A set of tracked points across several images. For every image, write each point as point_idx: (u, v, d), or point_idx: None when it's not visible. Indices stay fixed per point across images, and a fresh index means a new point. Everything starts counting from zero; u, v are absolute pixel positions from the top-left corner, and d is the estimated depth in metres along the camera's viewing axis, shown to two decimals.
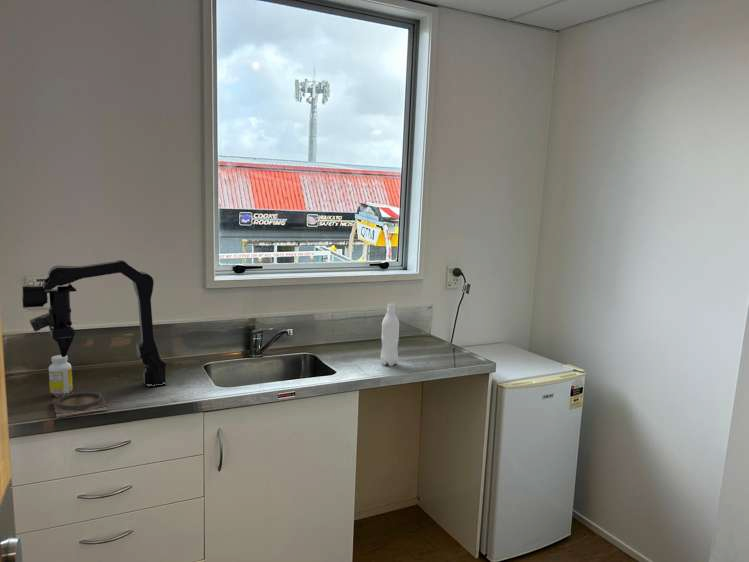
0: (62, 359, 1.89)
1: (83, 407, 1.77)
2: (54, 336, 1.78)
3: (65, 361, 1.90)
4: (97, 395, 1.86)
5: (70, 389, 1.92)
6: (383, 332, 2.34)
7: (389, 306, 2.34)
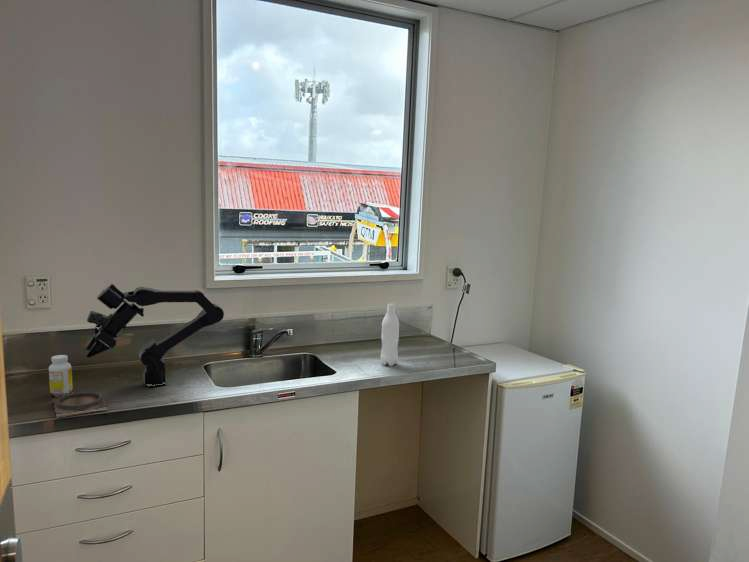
0: (62, 359, 1.89)
1: (83, 407, 1.77)
2: (99, 336, 1.86)
3: (65, 361, 1.90)
4: (97, 395, 1.86)
5: (70, 389, 1.92)
6: (383, 332, 2.34)
7: (389, 306, 2.34)
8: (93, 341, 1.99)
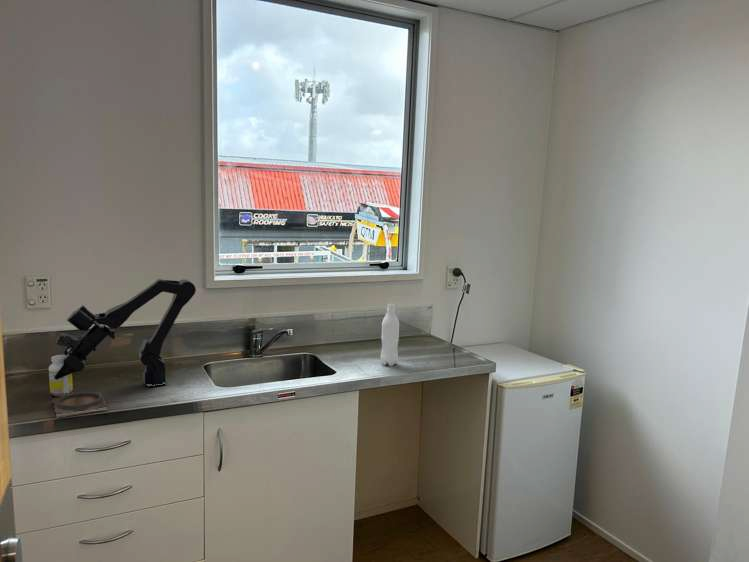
0: (62, 359, 1.89)
1: (83, 407, 1.77)
2: (67, 360, 1.83)
3: None
4: (97, 395, 1.86)
5: (70, 389, 1.92)
6: (383, 332, 2.34)
7: (389, 306, 2.34)
8: None
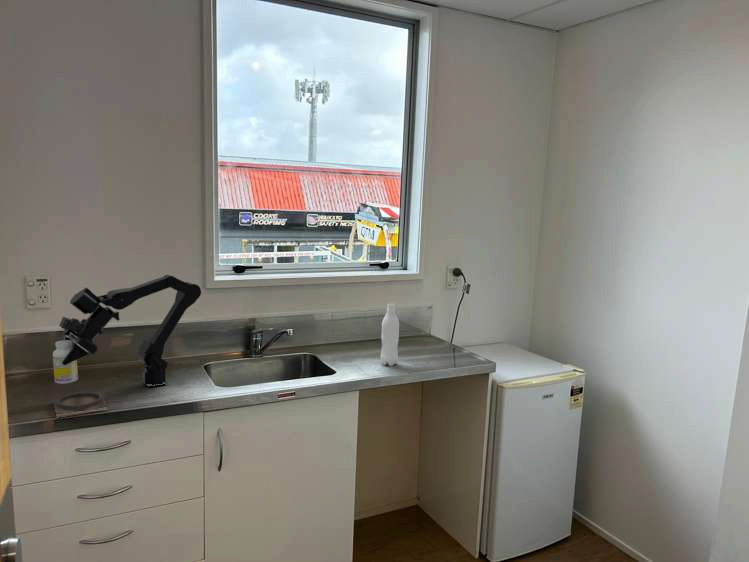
0: (68, 344, 1.83)
1: (83, 407, 1.77)
2: (80, 343, 1.78)
3: (71, 346, 1.84)
4: (97, 395, 1.86)
5: (76, 375, 1.86)
6: (383, 332, 2.34)
7: (389, 306, 2.34)
8: None
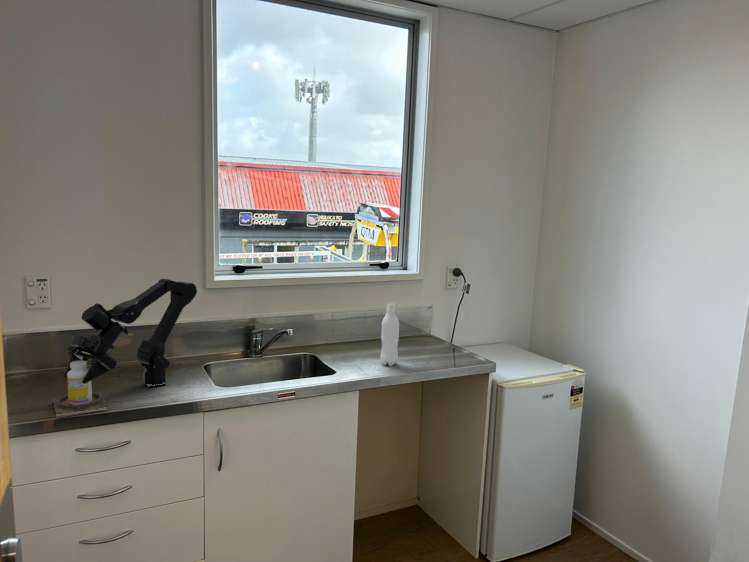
0: (85, 364, 1.80)
1: (83, 407, 1.77)
2: (103, 359, 1.77)
3: (86, 366, 1.81)
4: (97, 395, 1.86)
5: (91, 395, 1.83)
6: (383, 332, 2.34)
7: (389, 306, 2.34)
8: None
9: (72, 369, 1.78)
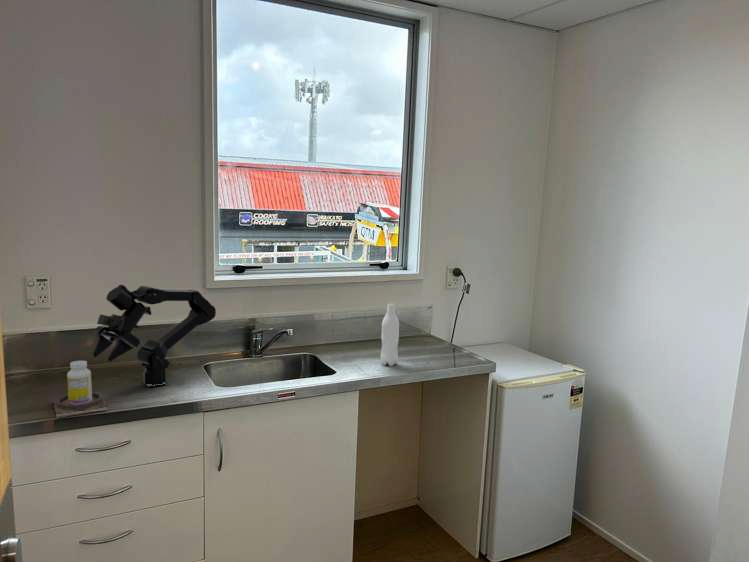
0: (85, 364, 1.80)
1: (83, 407, 1.77)
2: (125, 337, 1.84)
3: (86, 366, 1.81)
4: (97, 395, 1.86)
5: (91, 395, 1.83)
6: (383, 332, 2.34)
7: (389, 306, 2.34)
8: (99, 347, 1.91)
9: (72, 369, 1.78)
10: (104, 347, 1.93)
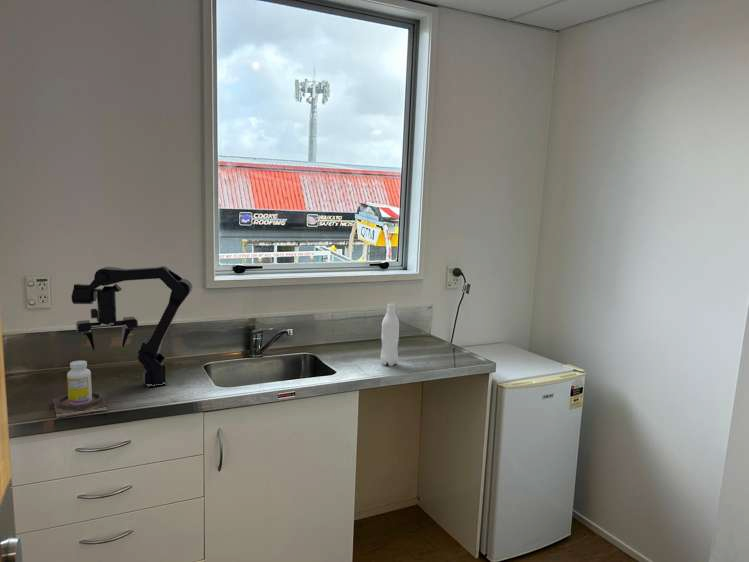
0: (85, 364, 1.80)
1: (83, 407, 1.77)
2: None
3: (86, 366, 1.81)
4: (97, 395, 1.86)
5: (91, 395, 1.83)
6: (383, 332, 2.34)
7: (389, 306, 2.34)
8: (122, 337, 2.03)
9: (72, 369, 1.78)
10: (123, 336, 2.02)
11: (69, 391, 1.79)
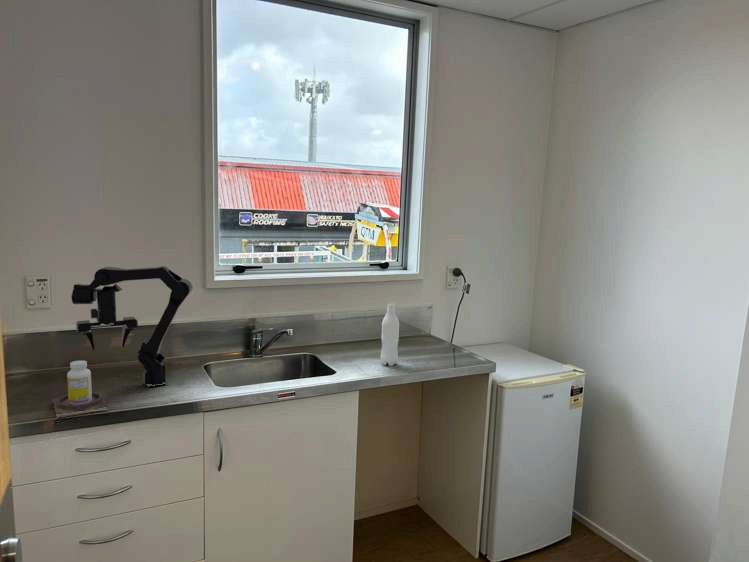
0: (85, 364, 1.80)
1: (83, 407, 1.77)
2: None
3: (86, 366, 1.81)
4: (97, 395, 1.86)
5: (91, 395, 1.83)
6: (383, 332, 2.34)
7: (389, 306, 2.34)
8: (122, 337, 2.03)
9: (72, 369, 1.78)
10: (123, 336, 2.02)
11: (69, 391, 1.79)
